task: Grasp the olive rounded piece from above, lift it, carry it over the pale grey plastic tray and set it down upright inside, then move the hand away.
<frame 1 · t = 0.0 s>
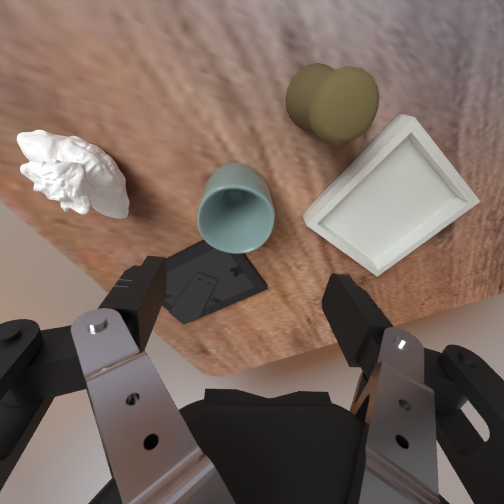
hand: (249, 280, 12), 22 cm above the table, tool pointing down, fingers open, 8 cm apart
tray: (381, 203, 35), on the table
cup: (236, 184, 32), on the table
olive rounded piece: (312, 97, 27), on the table
bust: (99, 165, 30), on the table
picture frame: (203, 276, 42), on the table
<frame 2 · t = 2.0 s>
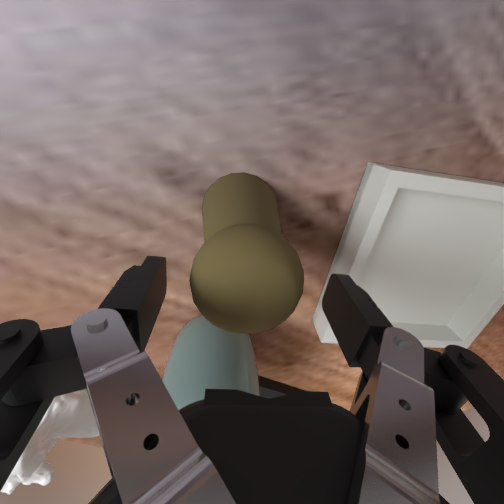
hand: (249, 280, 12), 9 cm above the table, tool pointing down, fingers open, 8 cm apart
tray: (414, 261, 23), on the table
cup: (215, 327, 26), on the table
olive rounded piece: (240, 210, 20), on the table
bust: (75, 371, 27), on the table
picture frame: (242, 411, 35), on the table
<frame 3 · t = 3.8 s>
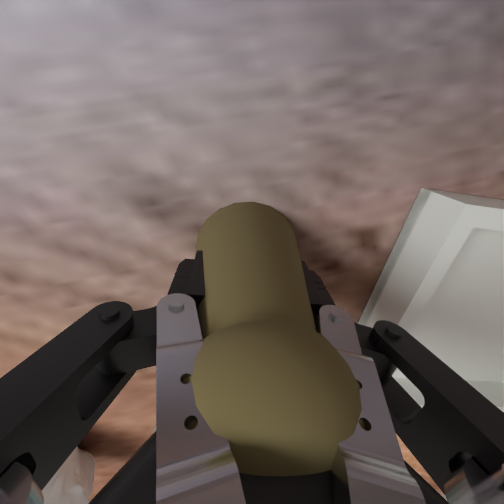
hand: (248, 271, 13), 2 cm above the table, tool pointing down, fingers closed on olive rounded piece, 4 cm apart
tray: (467, 309, 18), on the table
olive rounded piece: (247, 249, 15), on the table, touching gripper
bust: (43, 432, 23), on the table
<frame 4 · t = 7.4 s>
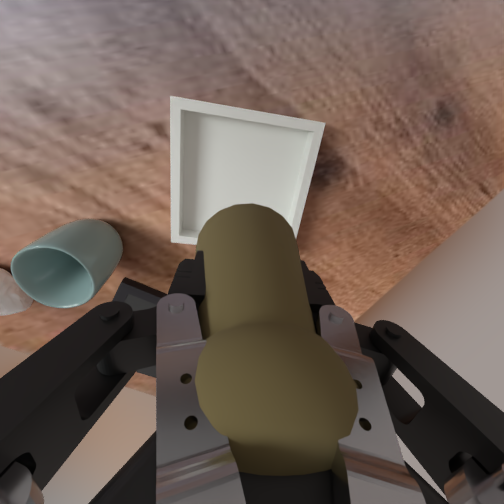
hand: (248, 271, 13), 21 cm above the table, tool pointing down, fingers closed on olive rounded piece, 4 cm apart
tray: (240, 182, 31), on the table
cup: (101, 237, 34), on the table
olive rounded piece: (246, 250, 15), point 19 cm above the table, touching gripper
picture frame: (147, 326, 43), on the table
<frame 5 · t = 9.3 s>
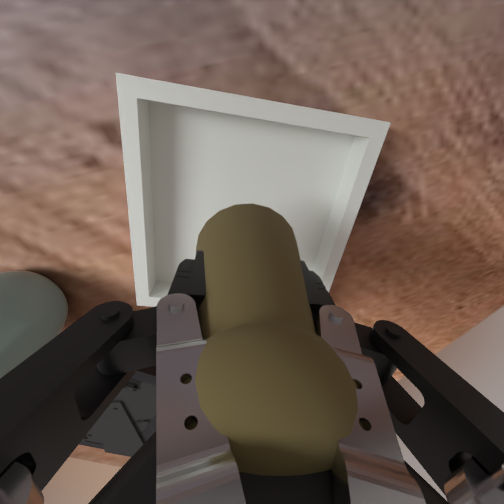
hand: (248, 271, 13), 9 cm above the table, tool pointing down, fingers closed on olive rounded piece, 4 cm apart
tray: (243, 213, 20), on the table
cup: (38, 291, 23), on the table
olive rounded piece: (246, 250, 15), point 6 cm above the table, touching gripper
picture frame: (117, 395, 32), on the table
when the fingers open (5 cm above the table, at t = 11.0 s): olive rounded piece drops 2 cm, resting on tray.
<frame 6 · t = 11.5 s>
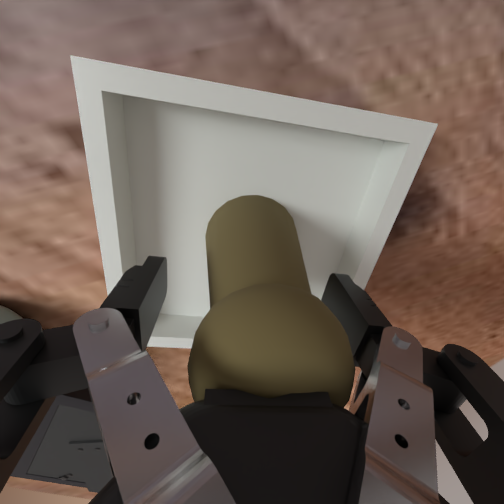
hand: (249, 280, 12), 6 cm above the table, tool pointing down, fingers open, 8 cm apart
tray: (244, 233, 17), on the table
cup: (1, 323, 19), on the table
olive rounded piece: (251, 238, 16), point 1 cm above the table, touching tray
picture frame: (102, 430, 28), on the table
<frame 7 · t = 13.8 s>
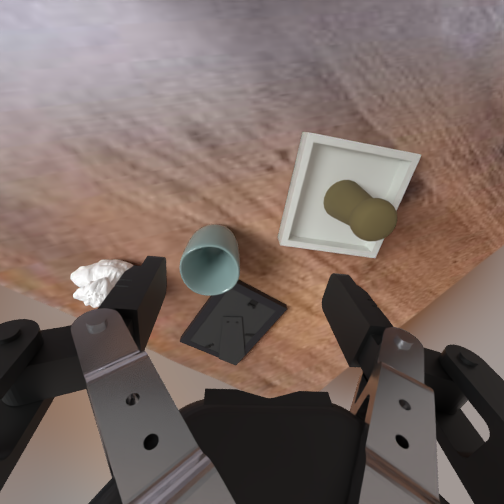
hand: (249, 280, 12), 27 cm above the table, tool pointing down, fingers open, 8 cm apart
tray: (338, 197, 38), on the table
cup: (216, 239, 41), on the table
olive rounded piece: (342, 199, 38), point 1 cm above the table, touching tray
bust: (124, 269, 42), on the table
picture frame: (232, 318, 49), on the table
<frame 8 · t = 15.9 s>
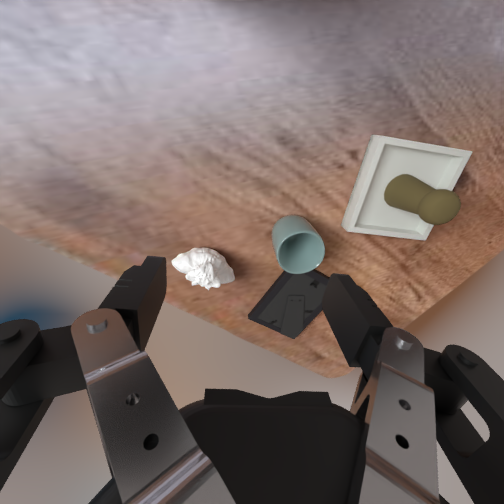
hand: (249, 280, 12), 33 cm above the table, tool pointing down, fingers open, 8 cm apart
tray: (395, 189, 45), on the table
cup: (288, 228, 47), on the table
olive rounded piece: (399, 190, 44), point 1 cm above the table, touching tray
bust: (207, 256, 49), on the table
picture frame: (292, 297, 56), on the table
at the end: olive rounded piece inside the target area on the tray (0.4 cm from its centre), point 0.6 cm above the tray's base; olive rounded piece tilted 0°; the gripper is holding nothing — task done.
